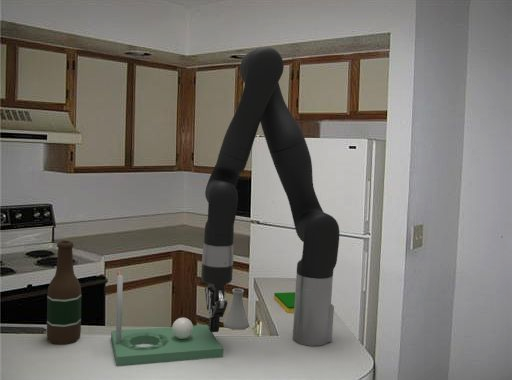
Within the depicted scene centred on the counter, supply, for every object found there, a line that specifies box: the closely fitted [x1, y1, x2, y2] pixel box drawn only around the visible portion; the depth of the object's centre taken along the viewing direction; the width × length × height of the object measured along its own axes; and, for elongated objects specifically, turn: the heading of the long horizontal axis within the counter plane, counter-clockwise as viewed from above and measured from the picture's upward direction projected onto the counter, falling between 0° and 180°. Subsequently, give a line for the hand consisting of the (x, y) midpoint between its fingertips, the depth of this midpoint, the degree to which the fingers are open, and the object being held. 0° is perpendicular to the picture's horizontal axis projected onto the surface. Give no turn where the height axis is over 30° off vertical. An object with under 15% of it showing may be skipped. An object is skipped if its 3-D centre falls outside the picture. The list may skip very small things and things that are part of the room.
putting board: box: [110, 269, 224, 367], centre depth 133 cm, size 24×16×18 cm, turn 109°
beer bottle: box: [46, 240, 82, 345], centre depth 135 cm, size 8×8×24 cm
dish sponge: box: [273, 291, 295, 314], centre depth 171 cm, size 7×14×2 cm, turn 16°
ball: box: [171, 317, 194, 339], centre depth 135 cm, size 5×5×5 cm
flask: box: [223, 288, 250, 331], centre depth 151 cm, size 7×7×10 cm
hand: (213, 331), depth 137 cm, fingers closed
